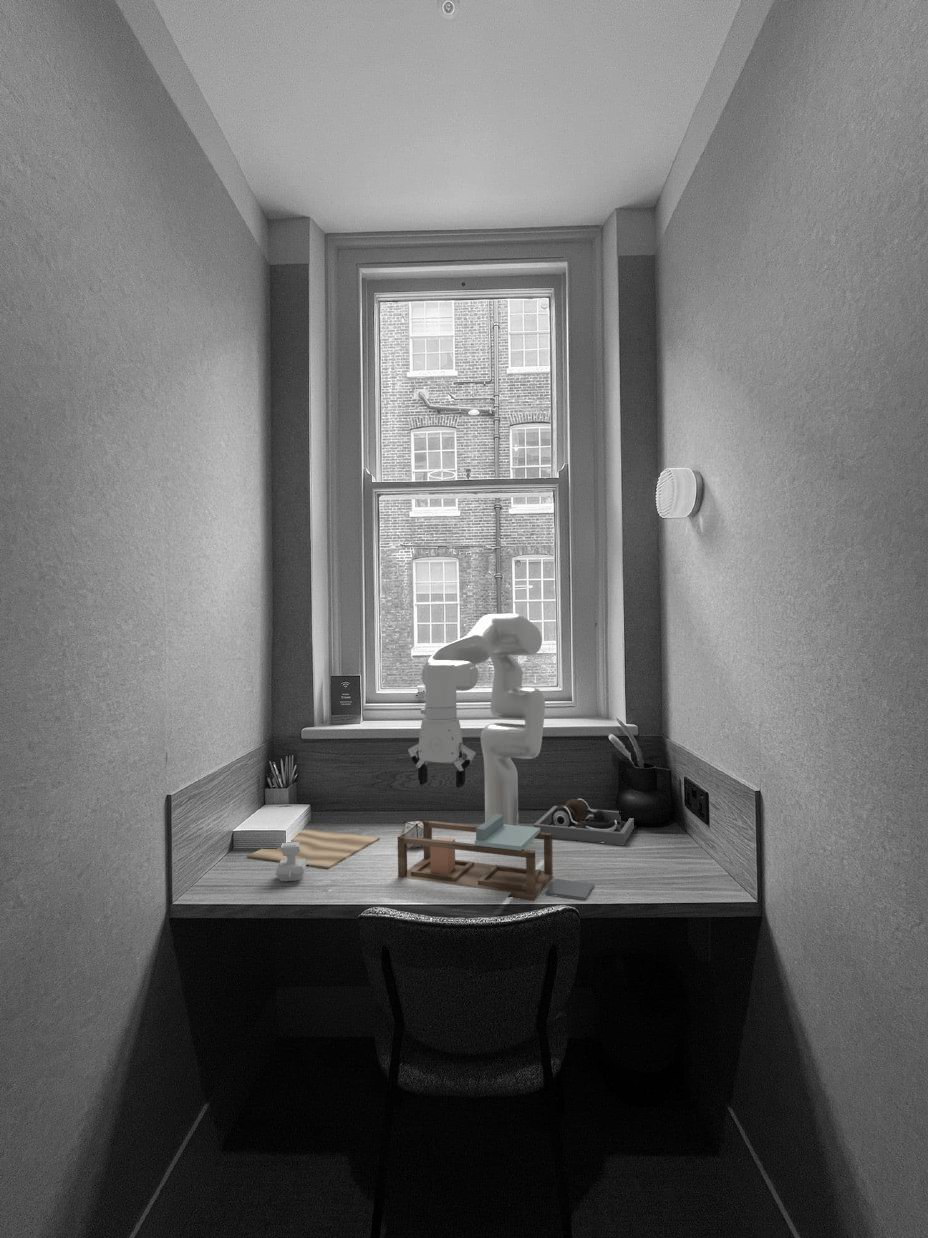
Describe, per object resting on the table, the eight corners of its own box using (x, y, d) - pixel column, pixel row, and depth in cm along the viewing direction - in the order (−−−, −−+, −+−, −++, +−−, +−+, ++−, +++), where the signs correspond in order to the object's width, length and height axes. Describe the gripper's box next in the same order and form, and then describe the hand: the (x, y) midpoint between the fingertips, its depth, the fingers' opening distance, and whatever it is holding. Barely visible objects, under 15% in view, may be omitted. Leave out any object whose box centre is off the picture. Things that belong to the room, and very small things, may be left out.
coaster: (555, 881, 169) (555, 878, 169) (594, 886, 166) (594, 883, 166) (545, 894, 161) (545, 892, 161) (585, 900, 157) (585, 897, 157)
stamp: (303, 885, 169) (303, 849, 169) (274, 886, 168) (274, 850, 168) (307, 872, 178) (307, 837, 178) (279, 873, 177) (279, 839, 177)
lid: (497, 827, 177) (496, 813, 177) (540, 832, 173) (540, 817, 173) (474, 845, 163) (474, 830, 163) (521, 850, 159) (520, 835, 159)
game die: (407, 864, 193) (385, 833, 195) (428, 846, 199) (407, 816, 200) (422, 855, 187) (399, 823, 188) (443, 836, 193) (421, 806, 194)
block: (438, 866, 177) (438, 837, 177) (455, 868, 175) (454, 839, 175) (430, 872, 173) (430, 842, 173) (447, 874, 171) (447, 844, 171)
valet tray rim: (554, 816, 225) (554, 805, 225) (637, 823, 216) (636, 813, 216) (533, 836, 205) (533, 824, 205) (623, 845, 195) (623, 833, 195)
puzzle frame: (426, 861, 184) (426, 820, 184) (552, 877, 172) (552, 833, 172) (398, 881, 170) (397, 837, 170) (533, 901, 157) (533, 853, 157)
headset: (571, 792, 222) (634, 810, 212) (568, 816, 223) (631, 835, 213) (548, 804, 208) (614, 824, 198) (545, 830, 208) (611, 852, 198)
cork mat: (305, 830, 213) (305, 829, 213) (379, 839, 203) (379, 837, 203) (247, 857, 189) (247, 855, 189) (328, 869, 179) (328, 867, 179)
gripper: (401, 714, 174) (402, 785, 174) (468, 717, 167) (469, 791, 167) (415, 711, 181) (416, 779, 181) (480, 713, 174) (480, 784, 174)
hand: (441, 785), depth 174 cm, fingers open, 9 cm apart
